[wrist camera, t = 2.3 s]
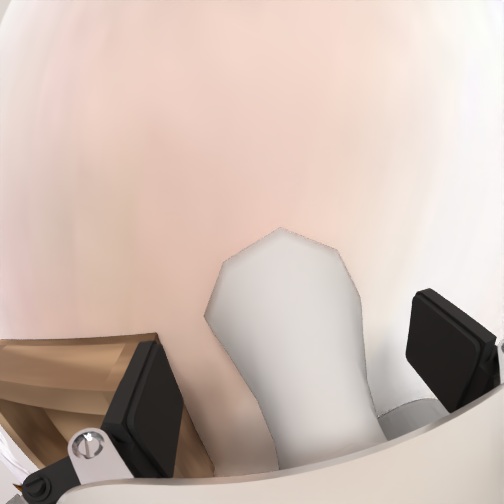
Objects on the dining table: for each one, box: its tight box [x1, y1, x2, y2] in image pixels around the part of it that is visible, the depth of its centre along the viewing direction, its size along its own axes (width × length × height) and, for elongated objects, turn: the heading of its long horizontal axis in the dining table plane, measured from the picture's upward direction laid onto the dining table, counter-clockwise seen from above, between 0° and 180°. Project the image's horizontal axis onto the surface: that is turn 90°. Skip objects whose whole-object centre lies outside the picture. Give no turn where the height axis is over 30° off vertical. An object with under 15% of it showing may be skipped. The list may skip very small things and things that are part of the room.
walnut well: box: [0, 333, 214, 478], centre depth 13 cm, size 13×13×4 cm
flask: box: [204, 228, 388, 470], centre depth 9 cm, size 7×7×10 cm
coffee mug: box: [378, 399, 450, 441], centre depth 13 cm, size 13×10×10 cm
